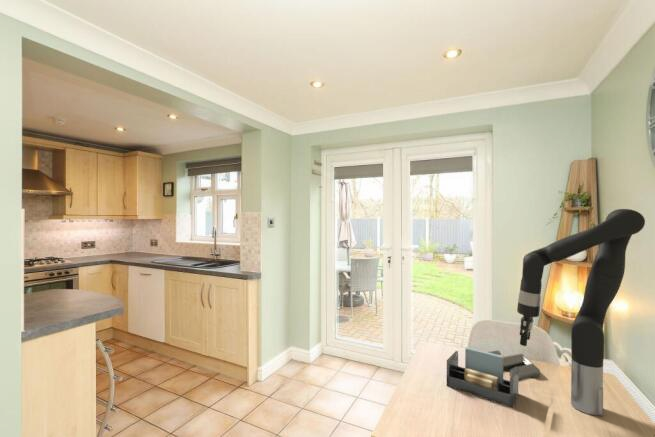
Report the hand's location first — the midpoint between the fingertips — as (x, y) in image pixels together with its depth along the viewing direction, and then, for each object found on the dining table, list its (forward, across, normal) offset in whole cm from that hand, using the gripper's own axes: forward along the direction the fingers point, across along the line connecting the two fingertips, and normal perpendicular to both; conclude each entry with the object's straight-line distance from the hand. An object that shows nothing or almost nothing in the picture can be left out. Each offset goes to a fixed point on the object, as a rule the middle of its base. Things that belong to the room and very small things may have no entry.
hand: (524, 342), depth 130 cm
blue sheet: (+20, -7, +12) cm, 25 cm away
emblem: (+22, +19, +9) cm, 31 cm away
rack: (+22, -11, +12) cm, 27 cm away
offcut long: (+20, -12, +12) cm, 26 cm away
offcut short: (+20, -14, +12) cm, 28 cm away
